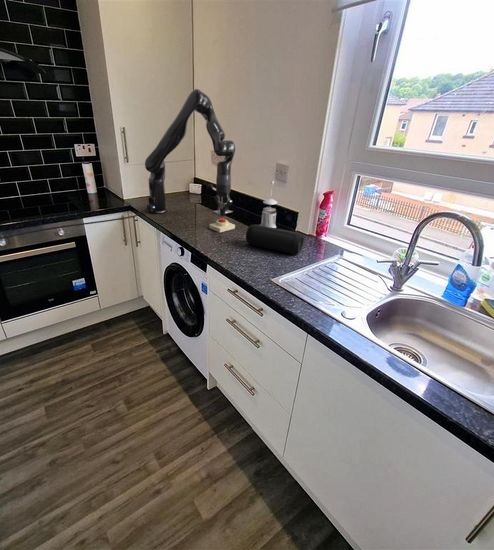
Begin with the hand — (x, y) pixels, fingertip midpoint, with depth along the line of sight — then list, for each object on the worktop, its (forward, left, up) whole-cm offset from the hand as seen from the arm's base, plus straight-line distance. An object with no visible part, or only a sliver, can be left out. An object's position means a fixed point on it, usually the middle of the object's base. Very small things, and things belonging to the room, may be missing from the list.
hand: (222, 215), depth 165 cm
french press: (+23, -13, -7) cm, 27 cm away
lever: (+13, +21, +6) cm, 25 cm away
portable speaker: (+1, -36, -7) cm, 37 cm away
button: (0, 0, -4) cm, 4 cm away
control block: (0, 0, -7) cm, 7 cm away
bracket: (+19, +21, -7) cm, 29 cm away
